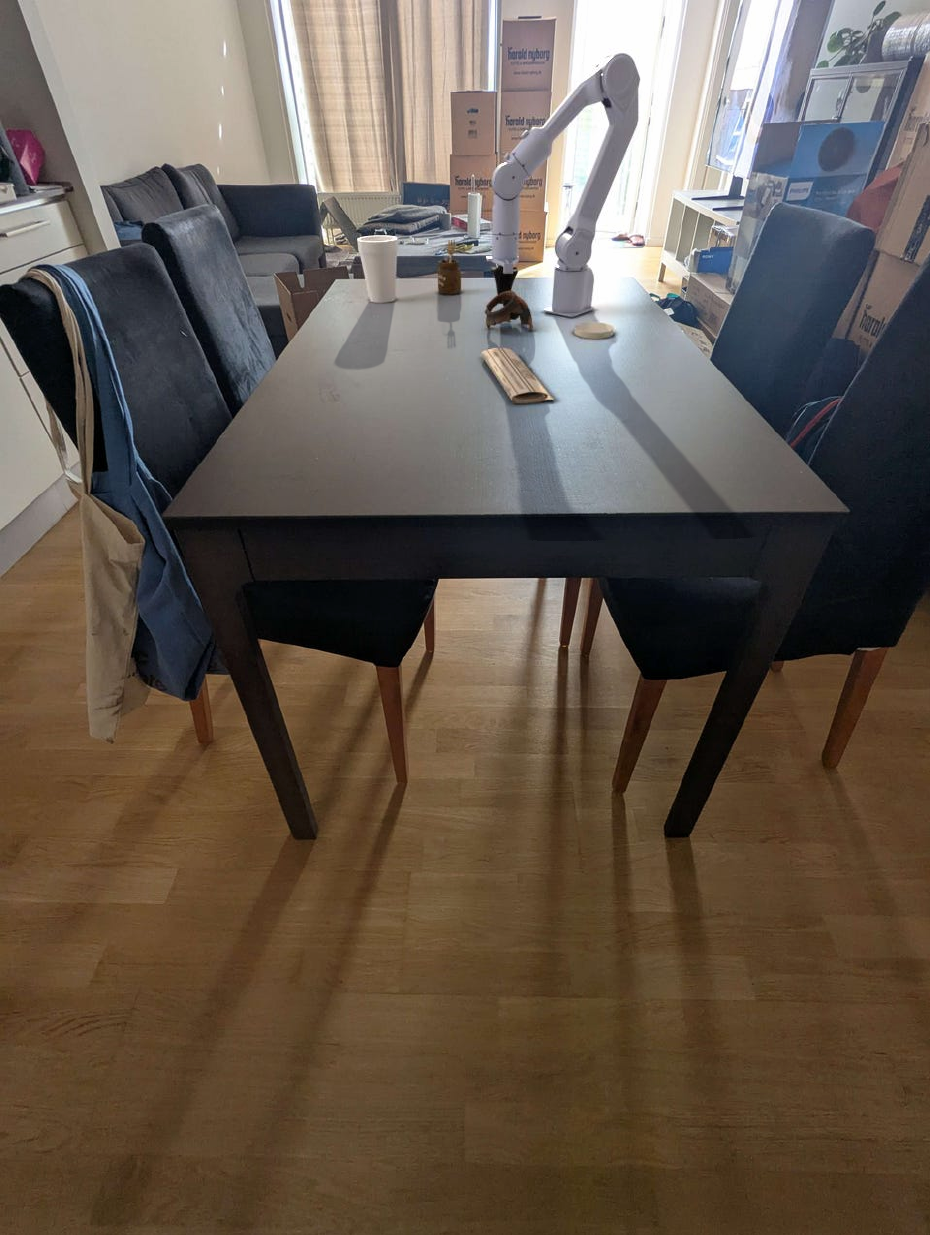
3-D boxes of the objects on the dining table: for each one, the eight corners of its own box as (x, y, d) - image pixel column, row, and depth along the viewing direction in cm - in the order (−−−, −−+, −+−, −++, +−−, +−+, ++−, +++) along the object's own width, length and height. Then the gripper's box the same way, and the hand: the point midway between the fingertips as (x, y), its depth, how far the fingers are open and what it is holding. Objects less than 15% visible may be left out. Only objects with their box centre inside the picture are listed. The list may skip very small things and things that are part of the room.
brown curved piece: (536, 337, 127) (520, 302, 122) (496, 356, 131) (478, 323, 126) (536, 307, 134) (520, 272, 128) (497, 326, 138) (481, 293, 132)
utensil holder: (457, 288, 160) (456, 235, 152) (464, 294, 155) (463, 239, 147) (435, 290, 159) (433, 236, 151) (441, 296, 154) (439, 240, 146)
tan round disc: (587, 325, 132) (588, 319, 131) (620, 332, 128) (621, 326, 127) (566, 334, 127) (567, 328, 127) (599, 341, 123) (600, 335, 123)
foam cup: (409, 298, 153) (405, 237, 144) (386, 306, 147) (380, 243, 138) (379, 293, 157) (373, 234, 148) (355, 301, 151) (348, 240, 142)
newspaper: (481, 358, 116) (481, 348, 115) (517, 356, 117) (518, 346, 116) (511, 404, 98) (512, 393, 97) (554, 400, 99) (554, 389, 98)
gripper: (483, 228, 136) (483, 295, 144) (490, 239, 125) (488, 311, 133) (515, 227, 136) (512, 295, 145) (524, 238, 125) (521, 311, 134)
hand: (503, 303), depth 139 cm, fingers closed
